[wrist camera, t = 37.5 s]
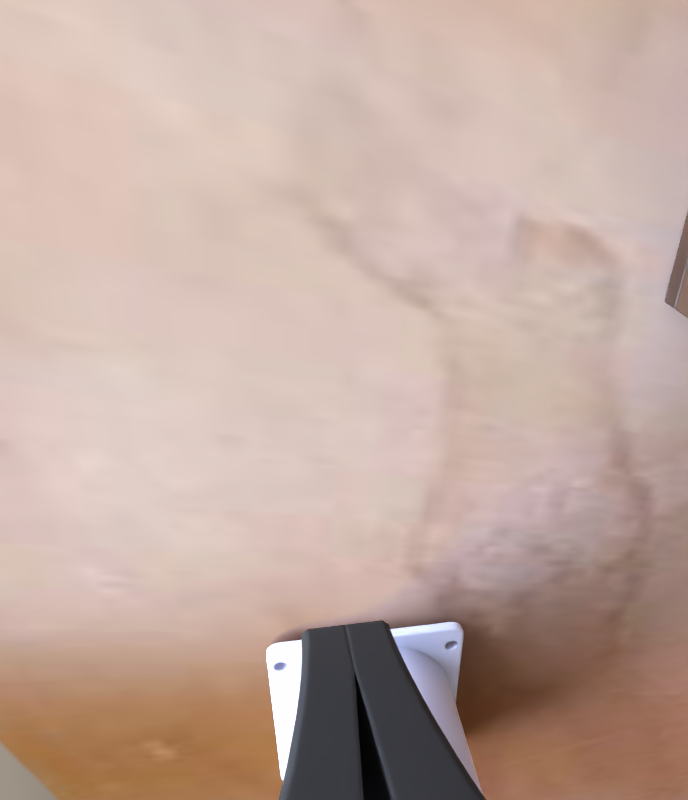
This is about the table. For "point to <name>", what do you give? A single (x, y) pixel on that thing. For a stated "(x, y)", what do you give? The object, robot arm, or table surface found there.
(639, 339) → the table surface
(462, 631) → the robot arm
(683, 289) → the cabinet
